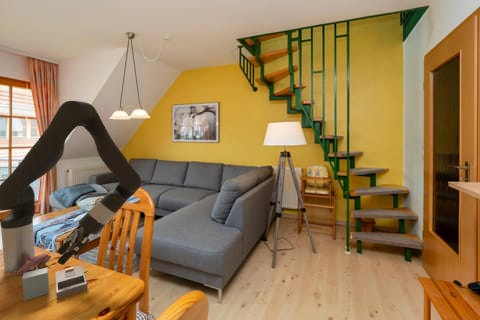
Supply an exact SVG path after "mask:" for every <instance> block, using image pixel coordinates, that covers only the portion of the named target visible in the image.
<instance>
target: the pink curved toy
mask: <svg viewBox="0 0 480 320" xmlns="http://www.w3.org/2000/svg"><path fill="white" fill-rule="evenodd" d="M51 257H52V256H51V255H49V254H48V253H45V252H44V253H43V254H40V255H39V254H38V255H35V257H34V258H32V259H31V260H30V261H27V263H25V264H24V265H23V266H22V267H21V268H20V269H19V270H18V271H17V272H16V275H17V276H18V277H20V276H21V277H23V273H27V272H31V271H35V270H39V269H43V267H44V266H45V265H46V264H47V263H48V262H49V261H50V259H51Z"/></svg>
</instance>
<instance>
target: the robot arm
mask: <svg viewBox="0 0 480 320" xmlns="http://www.w3.org/2000/svg"><path fill="white" fill-rule="evenodd" d="M77 127H83V128H84V129H85V130H86V131H87V132H88V133H89V134H90V136H91V137H92V138H93V142H94V144H95V148H96V151H97V154H98V156H99V158H100V159H101V161H102V162H103V163H104V165H105V166H106V167H107V168H108V170H109V171H110V172H111V173H112V174H113V175H114V177H115V179H116V180H117V181H118V184H117V185H116V186H115V187H114V188H113V189H112V190H110V191H108V192H107V193H106V194H105V195H104V196H103V197H102V198H101V199H100V201H98V202H97V203H96V204H95V205H93V206H92V207H91V209H90V210H89V211H88V212H87V213H86V214H85V215H84V216H83V217H81V219H80V220H79V221H78V226H77V227H75V228H74V229H73V230H72V231H71V233H70V234H69V235H68V236H67V237H66V239H65V242H64V243H63V244H62V245H61V246H60V247H59V248H58V249H57V250H56V252H57V253H58V254H59V255H61V256H60V257H59V258H58V259H57V263H58V265H59V264H60V265H62V266H63V265H65V264H66V263H67V261H69V260H70V259H71V258H72V256H78V254H79V253H80V252H81V251H82V249H83V248H84V247H85V246H86V245H87V244H88V243H89V242H90V238H89V236H90V235H95V236H97V235H98V234H99V233H100V232H101V231H102V230H103V229H104V228H105V226H107V224H108V223H109V222H110V221H111V220H112V219H113V217H114V216H115V215H116V213H117V212H118V211H120V209H121V208H122V207H123V206H124V205H125V203H126V202H127V201H128V200H129V199H130V198H131V197H132V196H133V195H134V194H135V193H136V192H137V191H138V190H139V189H140V187H141V186H142V179H141V177H140V174H139V173H138V172H137V171H136V170H135V169H134V166H132V165H131V164H130V163H129V161H128V159H127V158H126V156H125V155H124V154H123V152H122V151H121V150H120V148H119V147H118V145H116V143H115V142H114V140H113V138H112V137H111V135H110V133H109V131H108V130H107V128H106V126H105V125H104V122H103V120H102V119H101V116H100V115H99V112H98V111H97V109H96V108H95V107H94V106H93V105H92V104H91V103H89V102H86V101H83V100H82V101H81V100H76V99H69V100H66V101H64V102H63V103H62V104H61V105H60V106H59V108H58V109H57V111H56V113H55V114H54V116H53V118H52V120H51V121H50V123H49V124H48V126H47V128H46V129H45V130H44V132H43V133H42V134H41V135H40V137H39V138H38V139H37V140H36V142H35V143H34V145H32V147H31V148H30V149H29V151H28V152H27V153H26V154H25V156H24V157H23V158H22V160H21V161H20V163H19V164H18V165H17V166H16V168H14V170H13V171H12V172H11V174H10V175H9V176H7V178H5V180H3V182H2V183H1V184H0V211H9V213H8V214H7V215H6V216H4V217H3V218H2V219H1V221H0V231H1V241H2V243H1V244H2V255H3V256H2V258H3V270H4V272H5V273H17V271H18V270H19V269H20V268H21V267H22V266H23V265H24V264H25V263H27V261H30V260H31V259H32V258H34V257H35V256H36V251H35V249H36V248H35V235H34V223H33V221H34V216H35V212H36V209H35V206H36V199H35V198H36V196H35V192H34V188H33V187H32V185H31V184H32V183H34V182H35V181H37V180H38V179H40V178H41V177H43V176H45V175H46V174H47V173H49V172H50V171H51V170H52V169H53V168H54V167H55V166H56V165H57V164H58V162H59V161H60V160H61V158H62V157H63V155H64V152H65V144H66V140H67V139H68V137H69V136H70V134H71V133H72V132H73V131H74V130H75V129H76V128H77Z"/></svg>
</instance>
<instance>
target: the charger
mask: <svg viewBox="0 0 480 320" xmlns="http://www.w3.org/2000/svg"><path fill="white" fill-rule="evenodd" d="M48 269H49V267H44V268H43V267H42V268H40V269H36V270H35V271H31V272H27V273H23V275H22V279H21V281H22V296H23V301H24V302H25V301H27V300H28V301H29V300H31V299H35V298H38V297H43V296H46V295H49V292H50V283H49V270H48Z"/></svg>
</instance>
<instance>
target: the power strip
mask: <svg viewBox="0 0 480 320" xmlns="http://www.w3.org/2000/svg"><path fill="white" fill-rule="evenodd" d="M83 267H84V266H83V264H80V265H77V266H70V267H66V268H65V269H62V270H58V271H55V286H56V287H55V290H56V292H55V293H56V299H57V300H58V299H59V300H60V299H62V298H66V297H68V296H72V295H75V294H78V293H81V292H84V291H87V290H88V282H87V279H86V275H85V271H84V268H83Z"/></svg>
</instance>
